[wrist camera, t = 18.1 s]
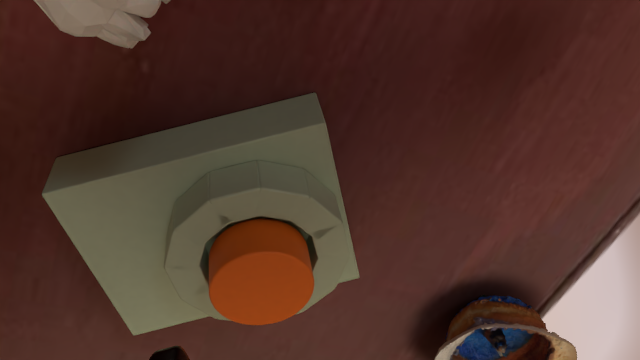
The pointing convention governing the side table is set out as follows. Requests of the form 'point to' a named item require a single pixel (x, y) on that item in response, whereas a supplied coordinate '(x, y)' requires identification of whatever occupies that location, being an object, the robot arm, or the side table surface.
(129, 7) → the white and red lump
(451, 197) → the side table surface
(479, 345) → the striped ceramic bowl
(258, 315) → the button
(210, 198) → the push button box
